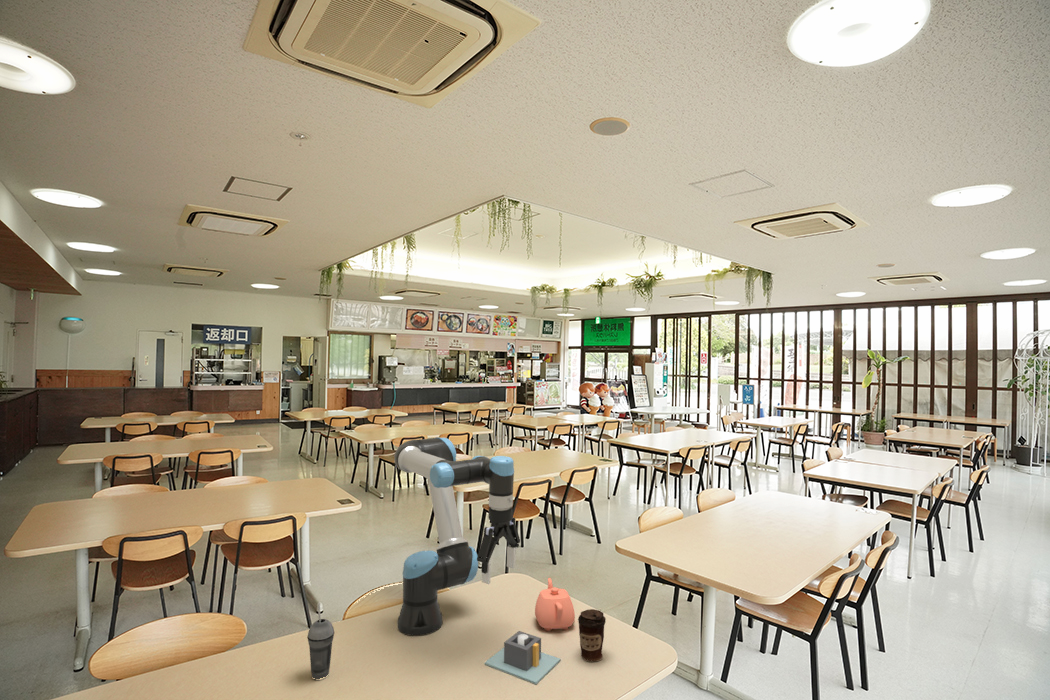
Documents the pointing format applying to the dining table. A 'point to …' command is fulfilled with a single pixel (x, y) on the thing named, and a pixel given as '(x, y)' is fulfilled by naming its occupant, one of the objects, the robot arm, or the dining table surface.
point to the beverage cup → (320, 646)
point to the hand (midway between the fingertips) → (498, 574)
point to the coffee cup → (591, 634)
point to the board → (531, 675)
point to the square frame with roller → (522, 652)
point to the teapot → (554, 608)
